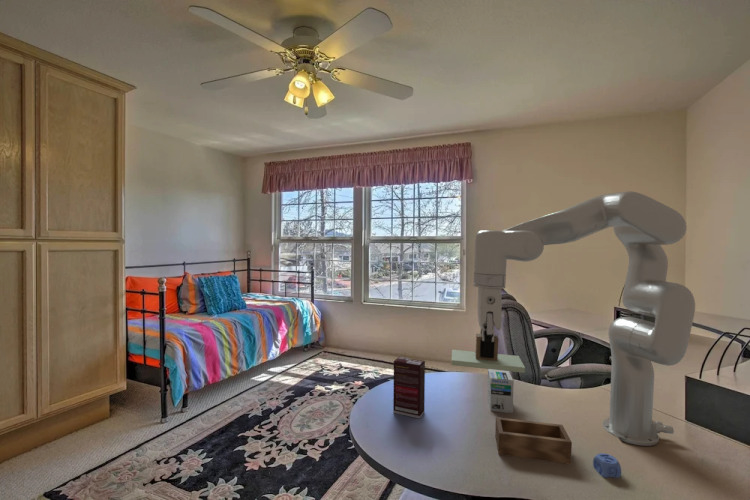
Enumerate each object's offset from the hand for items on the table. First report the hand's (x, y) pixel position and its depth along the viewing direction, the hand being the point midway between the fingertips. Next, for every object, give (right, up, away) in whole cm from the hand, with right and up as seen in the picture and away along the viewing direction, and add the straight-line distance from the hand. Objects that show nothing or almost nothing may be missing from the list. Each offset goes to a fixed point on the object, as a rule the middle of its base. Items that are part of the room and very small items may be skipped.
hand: (486, 354), depth 92 cm
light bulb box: (+11, -23, +24) cm, 36 cm away
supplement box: (-17, -23, +20) cm, 35 cm away
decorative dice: (+24, -25, -8) cm, 36 cm away
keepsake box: (+11, -24, 0) cm, 27 cm away
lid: (0, -2, 0) cm, 2 cm away
